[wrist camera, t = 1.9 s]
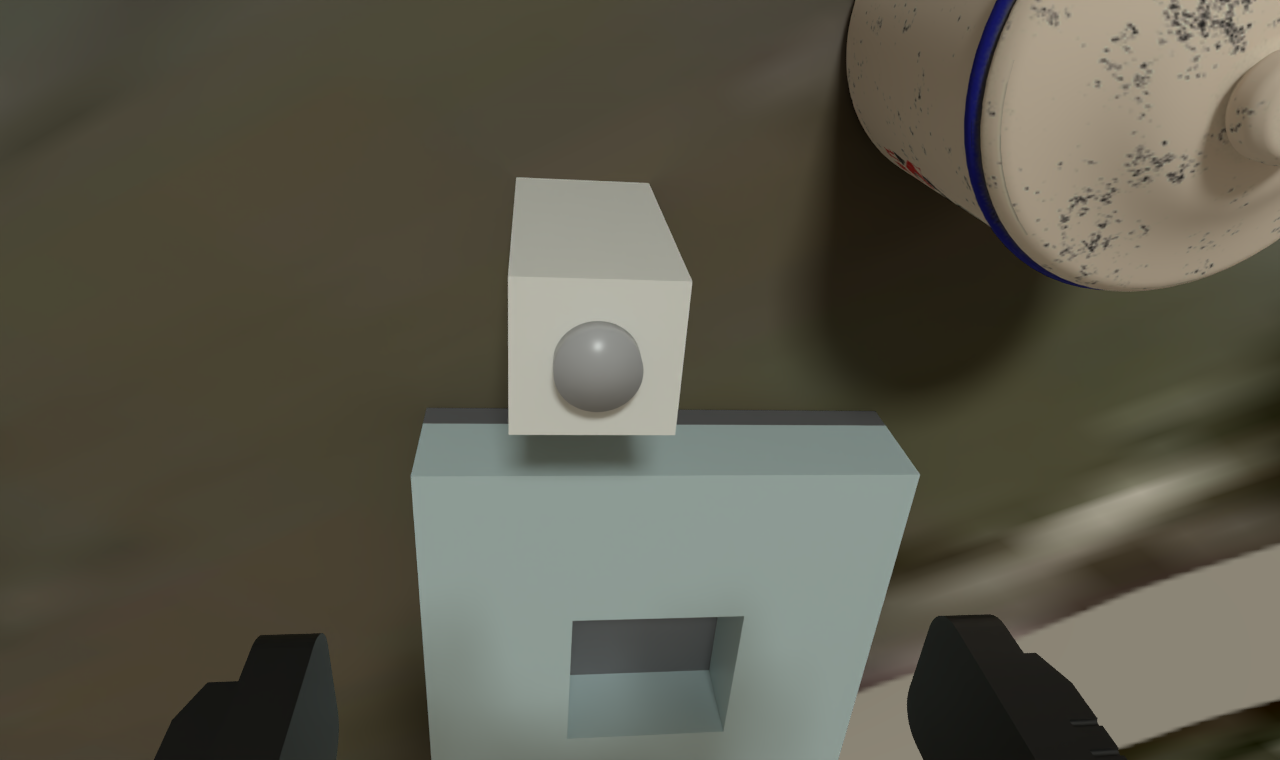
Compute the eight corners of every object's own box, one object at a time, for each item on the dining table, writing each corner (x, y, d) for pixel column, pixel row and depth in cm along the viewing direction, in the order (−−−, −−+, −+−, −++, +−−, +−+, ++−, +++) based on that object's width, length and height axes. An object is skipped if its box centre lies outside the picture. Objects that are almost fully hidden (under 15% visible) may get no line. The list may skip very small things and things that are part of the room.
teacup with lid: (825, 201, 26) (1013, 376, 16) (842, -138, 21) (1118, -201, 11) (1185, 166, 27) (1586, 312, 16) (1273, -168, 22) (1897, -253, 12)
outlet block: (875, 411, 30) (920, 474, 26) (794, 740, 38) (820, 820, 35) (426, 407, 28) (410, 476, 24) (447, 756, 36) (437, 844, 33)
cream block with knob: (648, 183, 25) (697, 291, 17) (639, 303, 27) (678, 448, 19) (516, 177, 24) (507, 287, 17) (516, 301, 26) (507, 449, 19)
